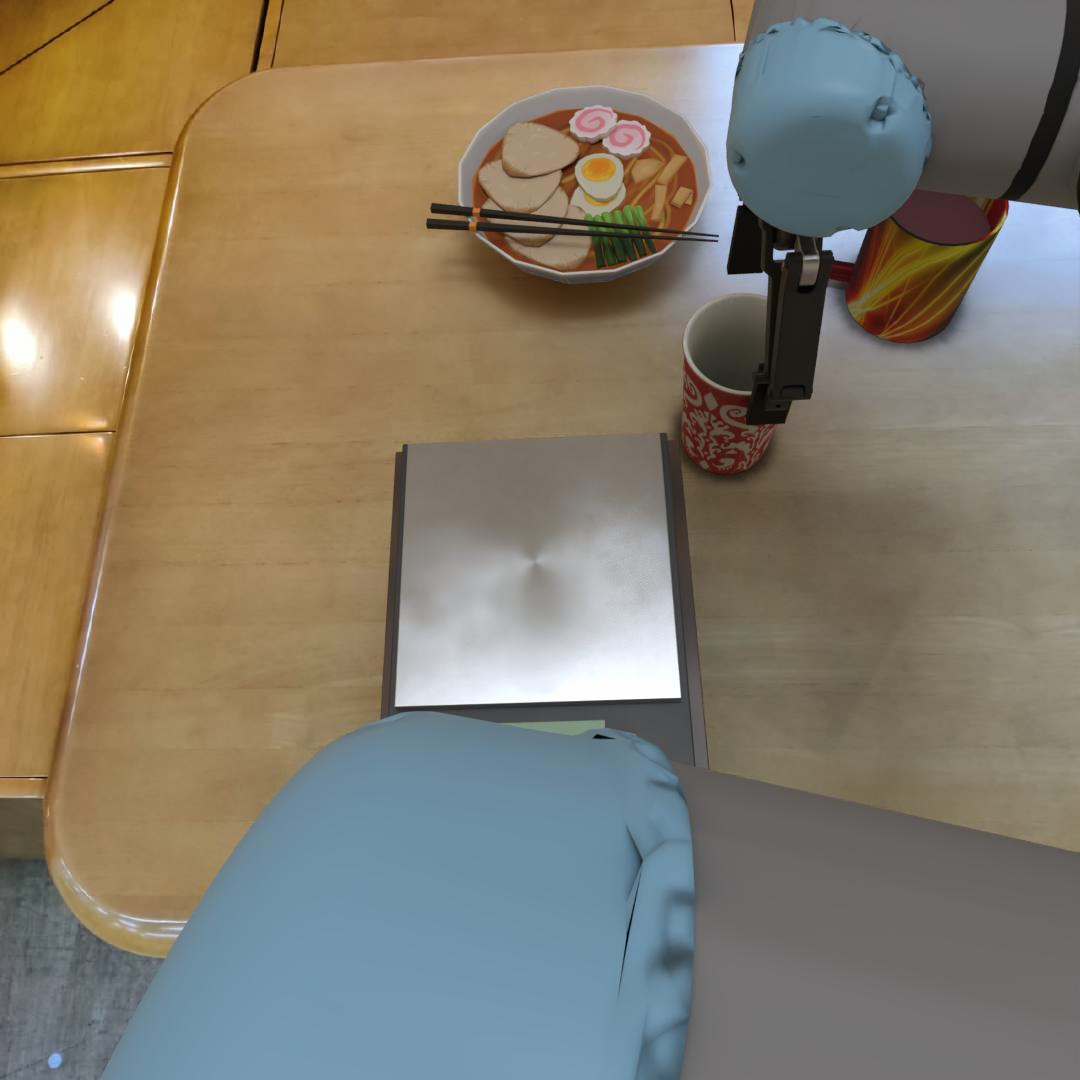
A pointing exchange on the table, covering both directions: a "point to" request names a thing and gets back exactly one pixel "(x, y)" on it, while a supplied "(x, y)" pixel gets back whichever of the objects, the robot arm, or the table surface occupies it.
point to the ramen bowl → (582, 183)
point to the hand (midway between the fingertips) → (754, 342)
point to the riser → (685, 588)
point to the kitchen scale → (542, 587)
